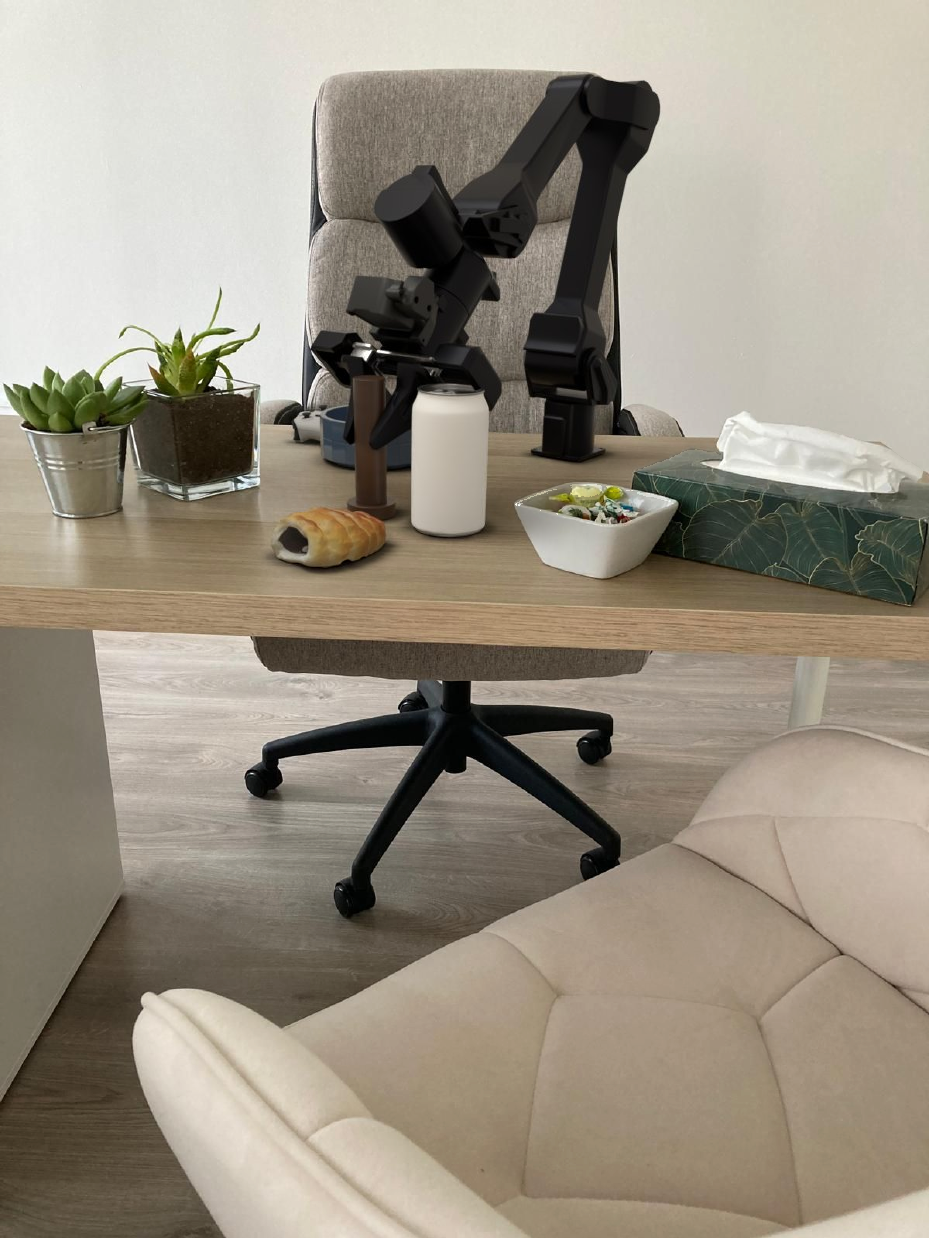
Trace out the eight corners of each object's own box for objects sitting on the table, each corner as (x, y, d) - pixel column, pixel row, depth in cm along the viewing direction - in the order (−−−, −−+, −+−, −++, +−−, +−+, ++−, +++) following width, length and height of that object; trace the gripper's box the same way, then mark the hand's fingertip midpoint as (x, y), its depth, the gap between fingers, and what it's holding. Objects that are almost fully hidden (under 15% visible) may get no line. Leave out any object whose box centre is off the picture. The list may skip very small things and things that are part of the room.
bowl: (371, 442, 121) (371, 399, 120) (454, 457, 115) (454, 412, 113) (298, 460, 112) (296, 414, 110) (383, 477, 106) (382, 429, 104)
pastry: (351, 532, 88) (350, 488, 86) (407, 549, 84) (407, 504, 82) (263, 556, 81) (261, 510, 80) (320, 577, 77) (318, 528, 76)
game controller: (349, 439, 118) (311, 401, 117) (317, 470, 120) (279, 433, 118) (358, 422, 127) (323, 387, 126) (329, 452, 129) (293, 417, 127)
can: (477, 541, 86) (482, 397, 82) (403, 534, 87) (403, 392, 83) (490, 520, 92) (495, 385, 88) (420, 515, 93) (422, 381, 89)
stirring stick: (369, 504, 96) (366, 372, 91) (405, 513, 94) (405, 377, 89) (337, 514, 93) (332, 377, 88) (374, 523, 90) (371, 383, 86)
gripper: (321, 237, 93) (233, 374, 89) (485, 244, 82) (394, 400, 78) (381, 321, 101) (304, 449, 97) (537, 337, 91) (457, 482, 87)
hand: (359, 444), depth 90 cm, fingers closed on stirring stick, 3 cm apart
